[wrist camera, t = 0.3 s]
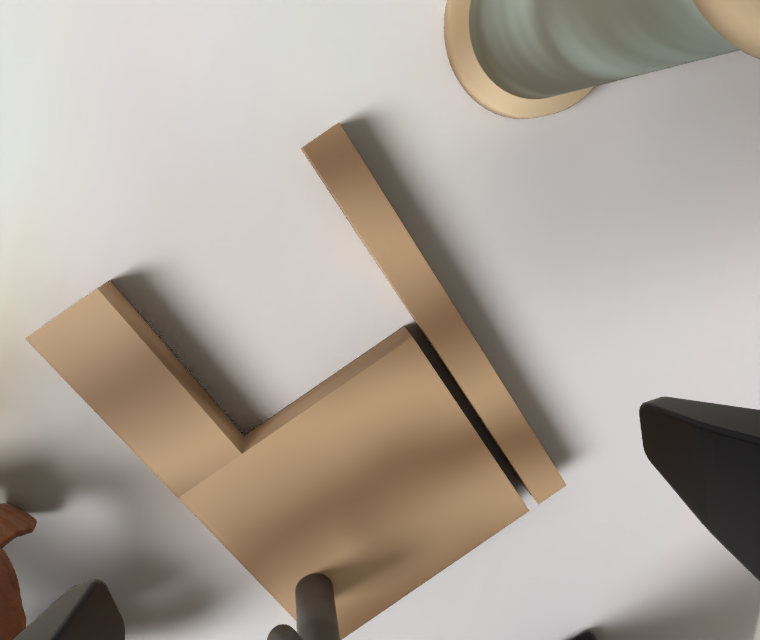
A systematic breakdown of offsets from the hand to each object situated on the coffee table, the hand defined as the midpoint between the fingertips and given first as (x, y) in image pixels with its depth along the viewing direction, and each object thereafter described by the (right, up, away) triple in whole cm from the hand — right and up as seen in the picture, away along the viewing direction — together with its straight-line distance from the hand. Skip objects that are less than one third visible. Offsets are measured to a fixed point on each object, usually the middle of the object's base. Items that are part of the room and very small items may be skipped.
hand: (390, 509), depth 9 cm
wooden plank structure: (-3, -1, +14) cm, 15 cm away
